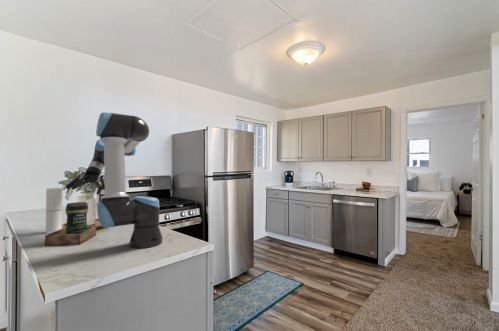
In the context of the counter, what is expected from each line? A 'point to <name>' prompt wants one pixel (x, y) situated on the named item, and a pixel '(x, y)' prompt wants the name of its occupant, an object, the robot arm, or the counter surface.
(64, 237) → the cradle
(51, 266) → the counter surface
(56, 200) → the cylindrical container
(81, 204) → the coffee jar
